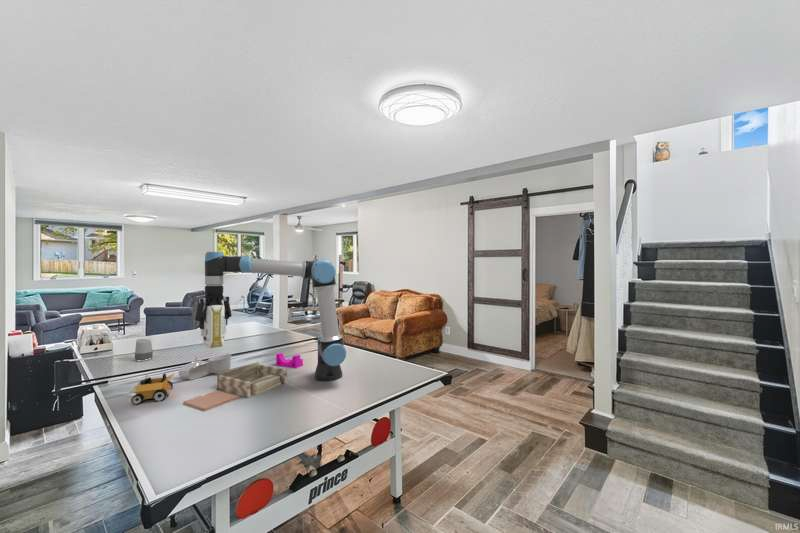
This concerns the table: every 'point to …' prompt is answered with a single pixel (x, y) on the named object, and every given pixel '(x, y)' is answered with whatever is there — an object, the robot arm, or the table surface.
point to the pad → (210, 400)
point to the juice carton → (214, 326)
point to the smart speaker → (143, 349)
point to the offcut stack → (264, 384)
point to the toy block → (289, 361)
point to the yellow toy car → (152, 389)
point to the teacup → (220, 363)
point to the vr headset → (195, 370)
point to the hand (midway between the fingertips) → (213, 334)
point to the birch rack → (246, 378)
